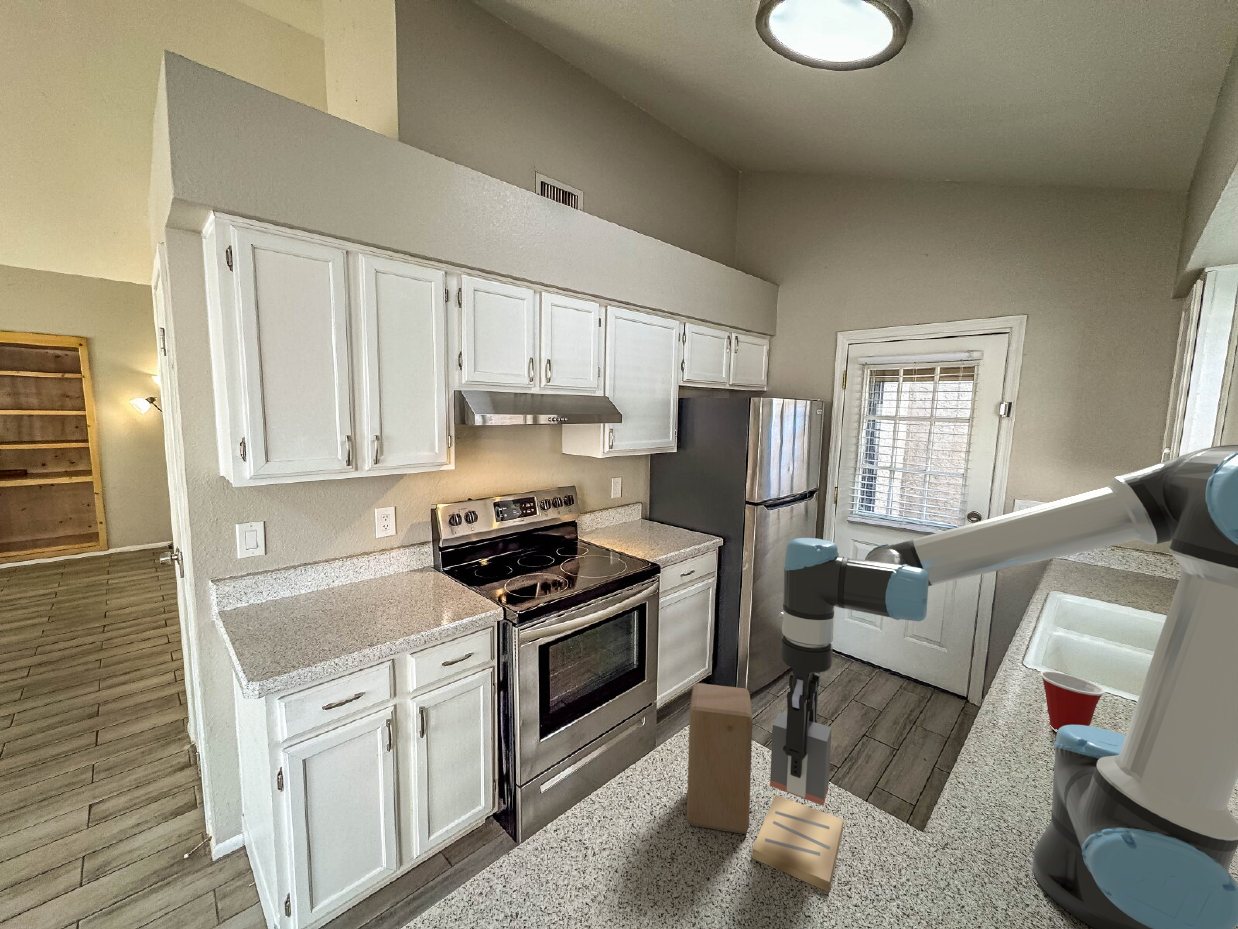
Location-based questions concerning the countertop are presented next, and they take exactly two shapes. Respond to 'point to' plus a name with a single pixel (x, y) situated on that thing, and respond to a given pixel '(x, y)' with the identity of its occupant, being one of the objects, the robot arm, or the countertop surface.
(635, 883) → the countertop surface
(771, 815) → the board
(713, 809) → the wooden block
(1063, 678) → the plastic cup
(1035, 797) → the countertop surface
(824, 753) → the block
